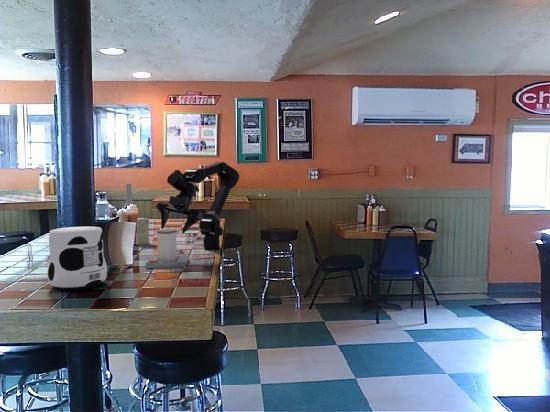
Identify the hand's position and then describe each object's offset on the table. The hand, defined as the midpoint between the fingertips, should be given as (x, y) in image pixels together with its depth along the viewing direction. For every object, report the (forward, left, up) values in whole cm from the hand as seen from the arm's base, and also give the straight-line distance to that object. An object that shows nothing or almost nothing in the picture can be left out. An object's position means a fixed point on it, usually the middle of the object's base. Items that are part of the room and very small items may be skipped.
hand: (172, 230), depth 194 cm
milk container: (+25, +40, -12) cm, 49 cm away
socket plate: (+1, +10, -11) cm, 15 cm away
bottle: (+27, -54, -12) cm, 61 cm away
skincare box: (+19, -38, -12) cm, 44 cm away
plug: (+1, +10, -11) cm, 15 cm away
